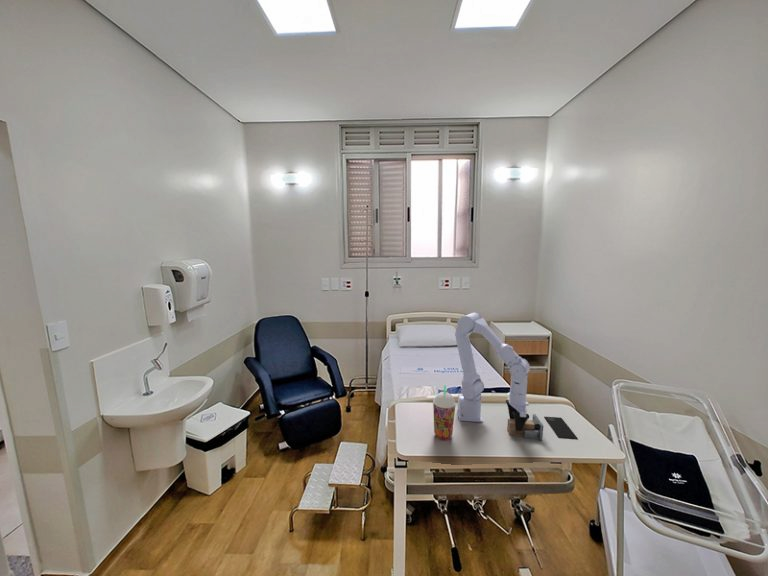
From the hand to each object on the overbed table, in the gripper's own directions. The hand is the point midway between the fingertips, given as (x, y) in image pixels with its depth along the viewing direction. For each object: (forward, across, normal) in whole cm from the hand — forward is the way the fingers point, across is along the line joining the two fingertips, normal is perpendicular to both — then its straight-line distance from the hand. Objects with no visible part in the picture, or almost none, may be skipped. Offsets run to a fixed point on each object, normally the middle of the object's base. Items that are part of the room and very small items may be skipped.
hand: (515, 424), depth 122 cm
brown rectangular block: (+4, 0, -2) cm, 4 cm away
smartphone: (+4, +6, -19) cm, 20 cm away
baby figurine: (+4, +20, -6) cm, 21 cm away
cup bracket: (+3, 0, -5) cm, 6 cm away
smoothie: (+4, -5, +28) cm, 29 cm away
